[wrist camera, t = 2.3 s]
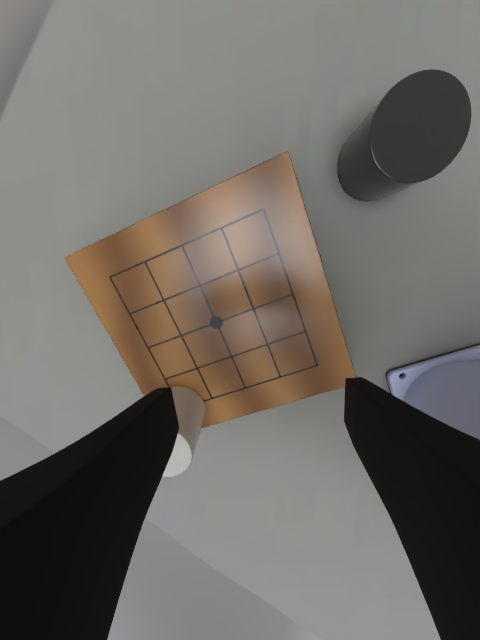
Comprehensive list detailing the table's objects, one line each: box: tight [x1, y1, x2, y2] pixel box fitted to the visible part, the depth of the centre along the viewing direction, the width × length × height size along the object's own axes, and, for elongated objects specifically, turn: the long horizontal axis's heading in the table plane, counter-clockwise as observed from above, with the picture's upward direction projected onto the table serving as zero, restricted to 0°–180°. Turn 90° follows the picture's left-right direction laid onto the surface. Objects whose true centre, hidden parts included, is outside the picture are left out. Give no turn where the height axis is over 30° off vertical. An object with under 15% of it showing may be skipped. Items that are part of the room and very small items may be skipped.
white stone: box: [162, 386, 206, 477], centre depth 18 cm, size 4×4×5 cm
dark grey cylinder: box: [338, 70, 471, 201], centre depth 13 cm, size 4×4×5 cm
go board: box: [65, 151, 356, 428], centre depth 18 cm, size 17×17×1 cm
